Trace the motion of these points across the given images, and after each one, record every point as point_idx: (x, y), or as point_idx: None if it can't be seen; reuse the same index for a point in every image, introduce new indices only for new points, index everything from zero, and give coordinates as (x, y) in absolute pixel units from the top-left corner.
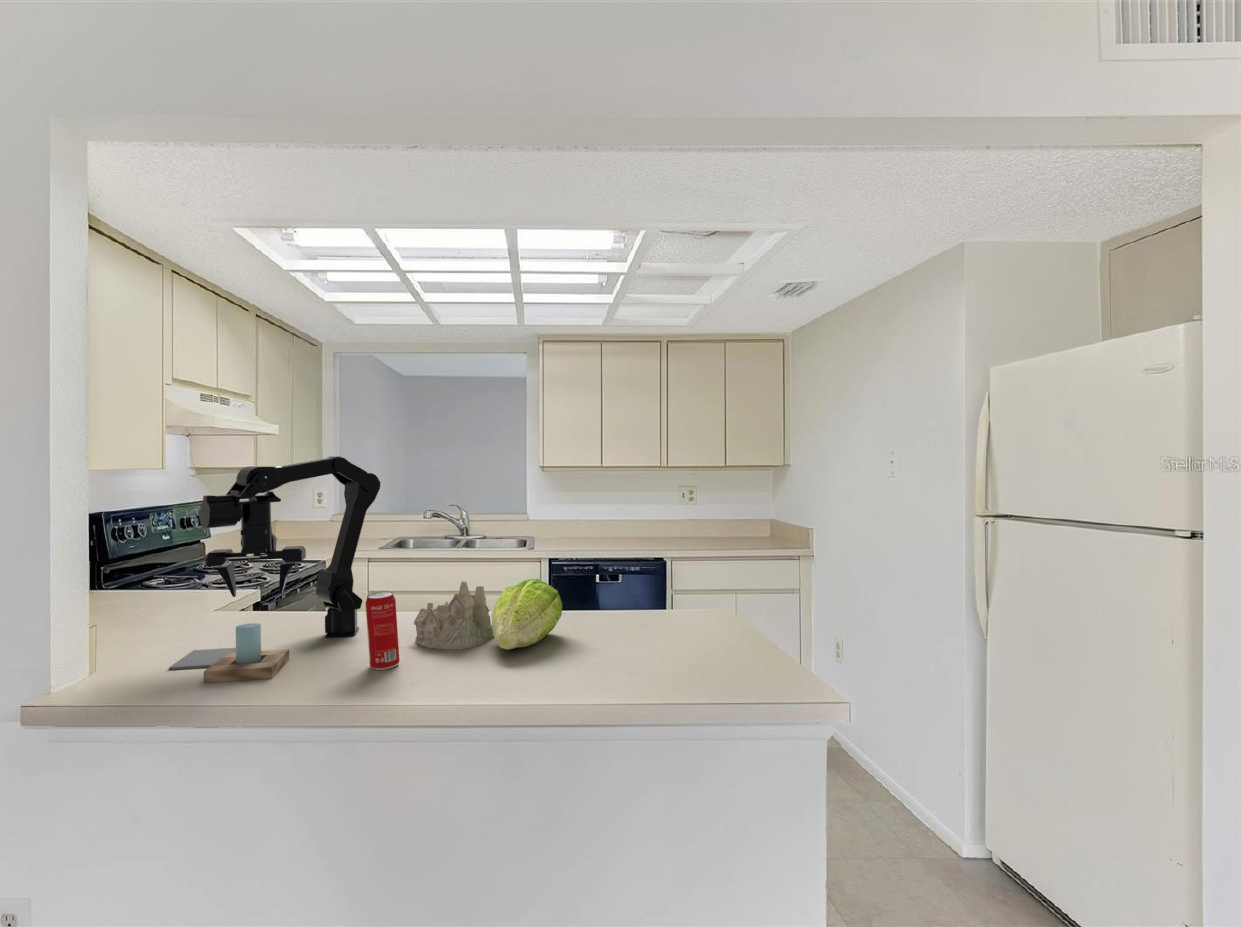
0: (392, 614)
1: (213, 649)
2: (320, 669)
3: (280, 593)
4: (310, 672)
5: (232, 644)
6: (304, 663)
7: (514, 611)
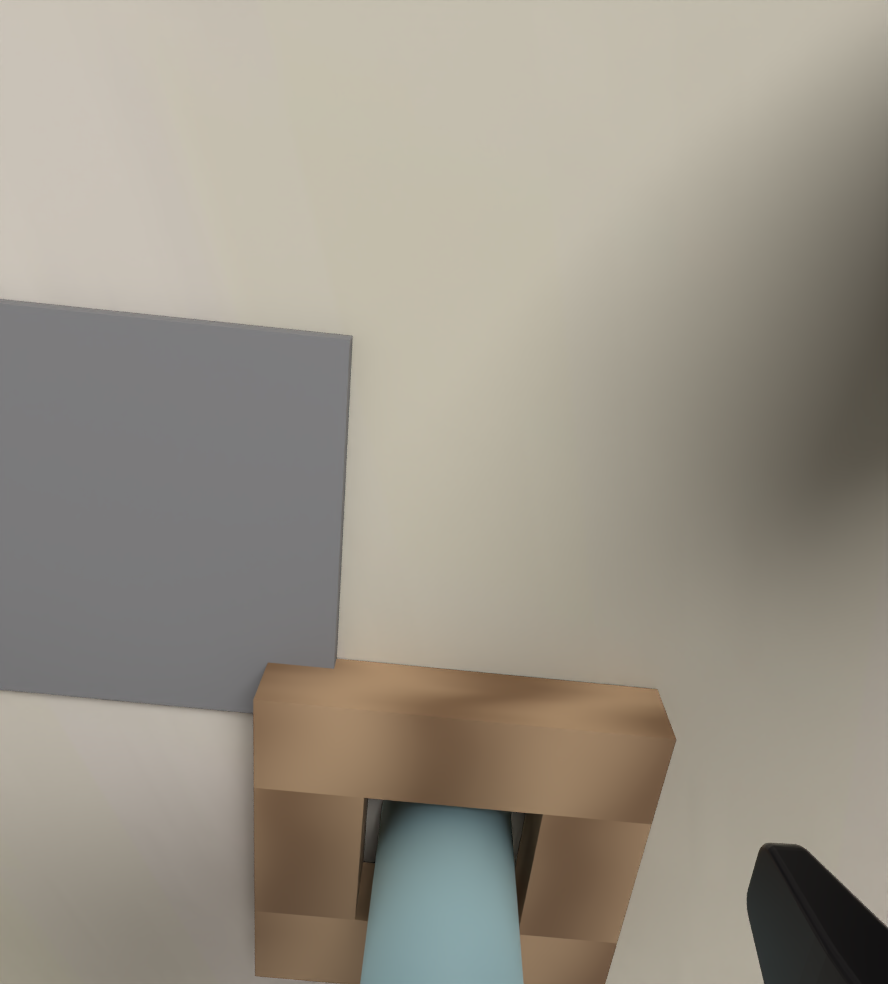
0: None
1: (30, 325)
2: None
3: (762, 920)
4: None
5: (102, 87)
6: (747, 779)
7: None
